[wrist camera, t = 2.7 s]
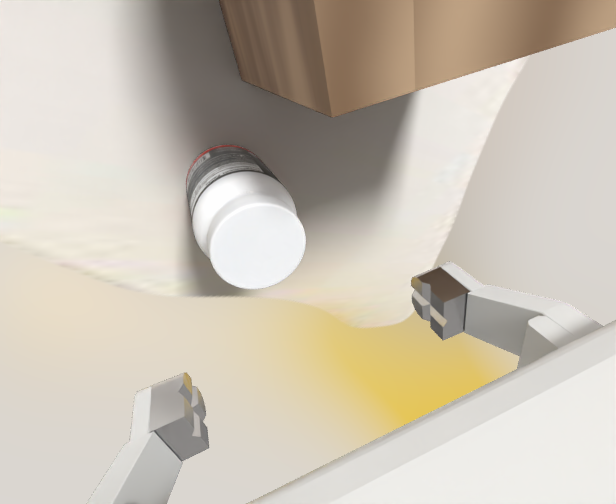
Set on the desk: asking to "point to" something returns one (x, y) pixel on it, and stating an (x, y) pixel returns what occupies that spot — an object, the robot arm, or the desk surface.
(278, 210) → the pill bottle
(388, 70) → the slot box
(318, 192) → the desk surface
